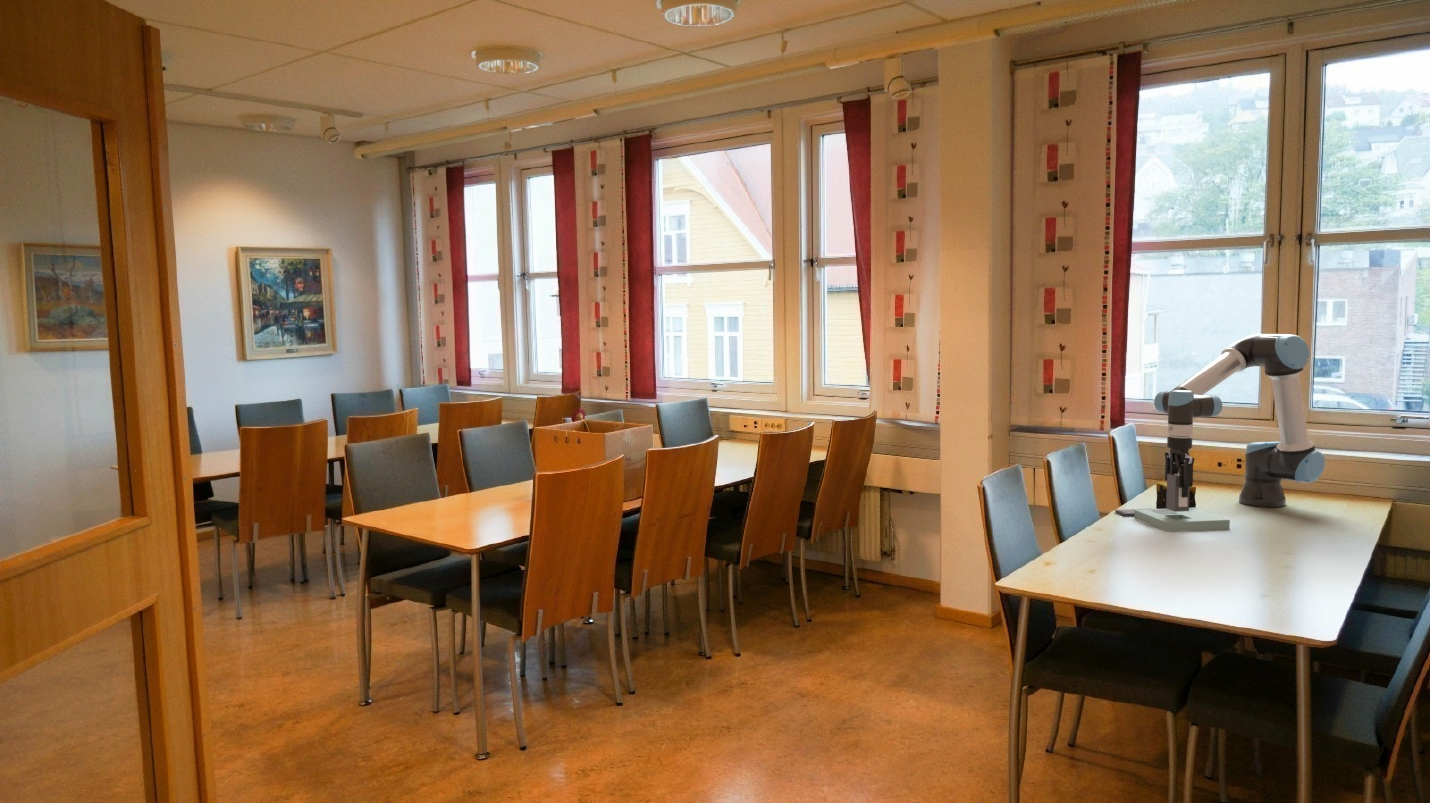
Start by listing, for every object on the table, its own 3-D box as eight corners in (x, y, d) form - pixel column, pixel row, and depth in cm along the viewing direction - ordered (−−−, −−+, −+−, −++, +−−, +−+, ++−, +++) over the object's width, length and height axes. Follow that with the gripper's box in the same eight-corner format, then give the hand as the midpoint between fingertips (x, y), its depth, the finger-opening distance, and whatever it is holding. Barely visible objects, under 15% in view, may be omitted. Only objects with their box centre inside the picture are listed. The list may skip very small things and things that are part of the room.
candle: (1196, 514, 338) (1197, 486, 337) (1167, 514, 339) (1168, 487, 338) (1183, 508, 348) (1183, 481, 347) (1155, 508, 349) (1155, 481, 348)
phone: (1152, 511, 344) (1152, 508, 344) (1163, 515, 337) (1163, 512, 337) (1115, 512, 343) (1115, 509, 343) (1125, 516, 336) (1125, 513, 336)
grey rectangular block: (1180, 507, 324) (1181, 472, 323) (1188, 511, 319) (1189, 475, 318) (1166, 508, 323) (1167, 473, 322) (1174, 511, 318) (1175, 475, 317)
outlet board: (1193, 515, 336) (1194, 507, 335) (1229, 528, 316) (1229, 519, 316) (1134, 518, 334) (1134, 509, 333) (1166, 531, 314) (1166, 522, 314)
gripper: (1154, 433, 327) (1152, 499, 329) (1184, 440, 309) (1182, 510, 312) (1175, 432, 328) (1173, 499, 330) (1206, 439, 310) (1204, 509, 312)
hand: (1177, 504), depth 321 cm, fingers closed on grey rectangular block, 5 cm apart
